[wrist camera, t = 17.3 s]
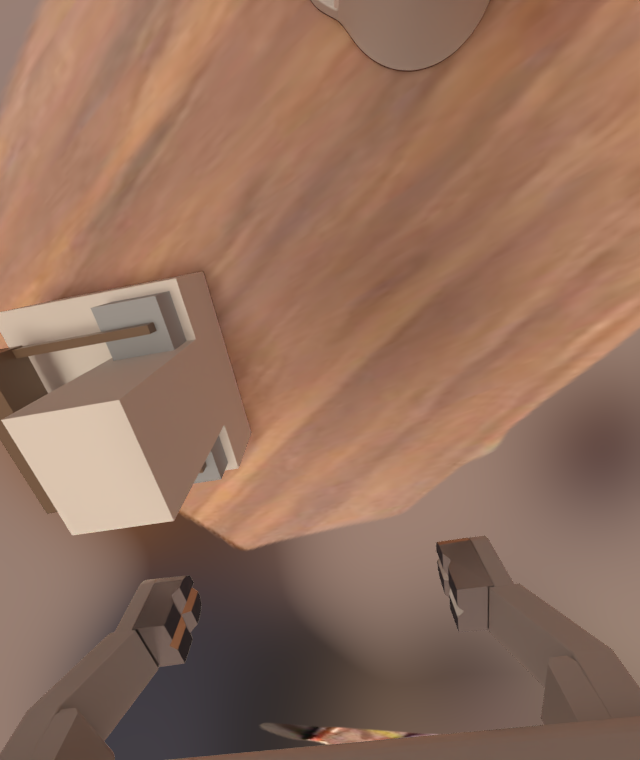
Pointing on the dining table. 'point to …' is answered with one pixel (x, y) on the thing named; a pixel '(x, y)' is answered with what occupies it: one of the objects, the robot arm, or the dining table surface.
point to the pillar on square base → (128, 403)
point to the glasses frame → (42, 388)
